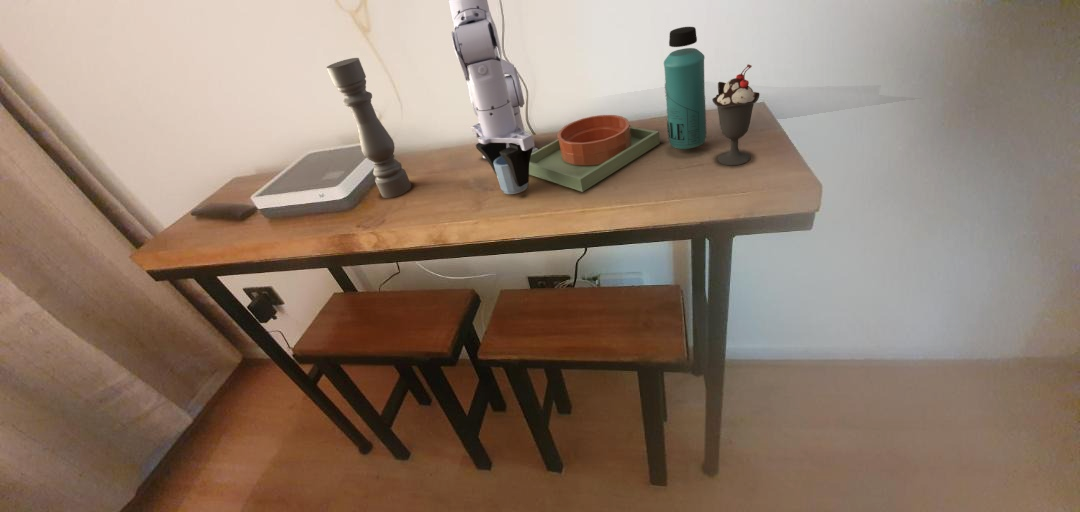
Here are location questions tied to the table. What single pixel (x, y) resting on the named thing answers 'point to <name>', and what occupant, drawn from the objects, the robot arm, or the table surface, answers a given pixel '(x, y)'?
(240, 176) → the table surface
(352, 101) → the candle holder
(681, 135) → the beverage bottle
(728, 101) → the sundae
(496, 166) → the pale blue cup
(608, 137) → the big bowl
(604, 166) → the tray
